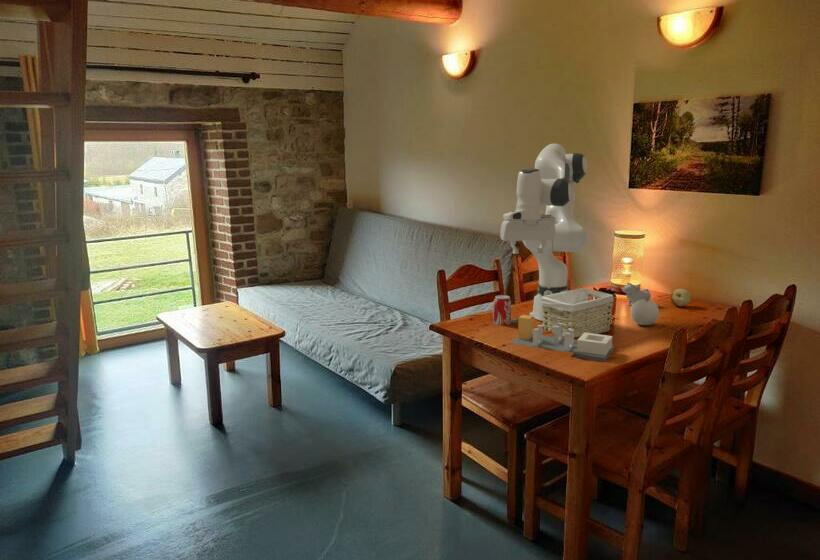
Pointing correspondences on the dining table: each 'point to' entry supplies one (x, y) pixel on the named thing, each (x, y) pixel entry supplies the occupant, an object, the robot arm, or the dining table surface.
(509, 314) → the soda can
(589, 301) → the storage basket
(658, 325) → the dining table surface
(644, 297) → the dog figurine
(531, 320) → the plug
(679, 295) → the fruit
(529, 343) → the board
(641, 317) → the ornament
